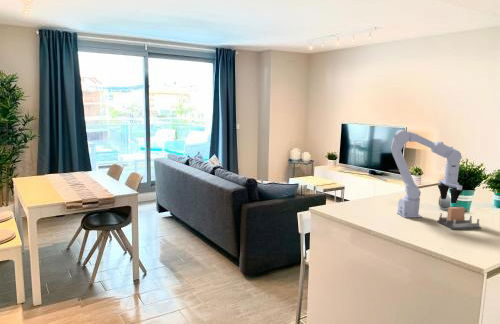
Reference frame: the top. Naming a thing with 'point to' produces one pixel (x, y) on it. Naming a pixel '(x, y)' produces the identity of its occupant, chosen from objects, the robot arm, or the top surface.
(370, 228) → the top surface
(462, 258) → the top surface
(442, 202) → the ceramic mug
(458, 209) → the peach brick
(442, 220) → the pegged metal rack
